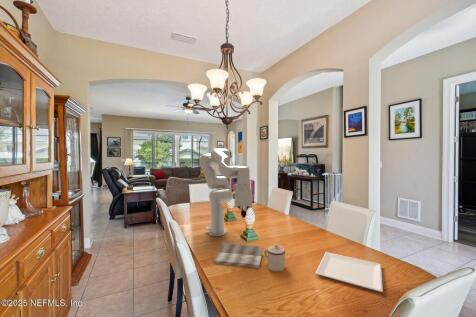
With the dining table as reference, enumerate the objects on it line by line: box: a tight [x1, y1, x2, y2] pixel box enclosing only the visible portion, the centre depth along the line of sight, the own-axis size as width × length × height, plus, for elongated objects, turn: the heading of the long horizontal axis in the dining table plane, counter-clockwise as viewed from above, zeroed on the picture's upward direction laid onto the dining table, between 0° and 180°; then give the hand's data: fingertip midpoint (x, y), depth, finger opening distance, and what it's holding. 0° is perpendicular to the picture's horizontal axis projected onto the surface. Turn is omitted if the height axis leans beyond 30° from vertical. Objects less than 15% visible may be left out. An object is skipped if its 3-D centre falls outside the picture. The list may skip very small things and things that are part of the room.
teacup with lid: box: [263, 243, 286, 272], centre depth 110 cm, size 12×9×12 cm
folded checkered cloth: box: [218, 242, 263, 258], centre depth 124 cm, size 24×6×2 cm, turn 78°
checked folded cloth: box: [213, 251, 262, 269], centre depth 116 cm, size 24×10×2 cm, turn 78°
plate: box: [315, 251, 383, 293], centre depth 105 cm, size 26×26×2 cm
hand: (243, 216), depth 132 cm, fingers closed
